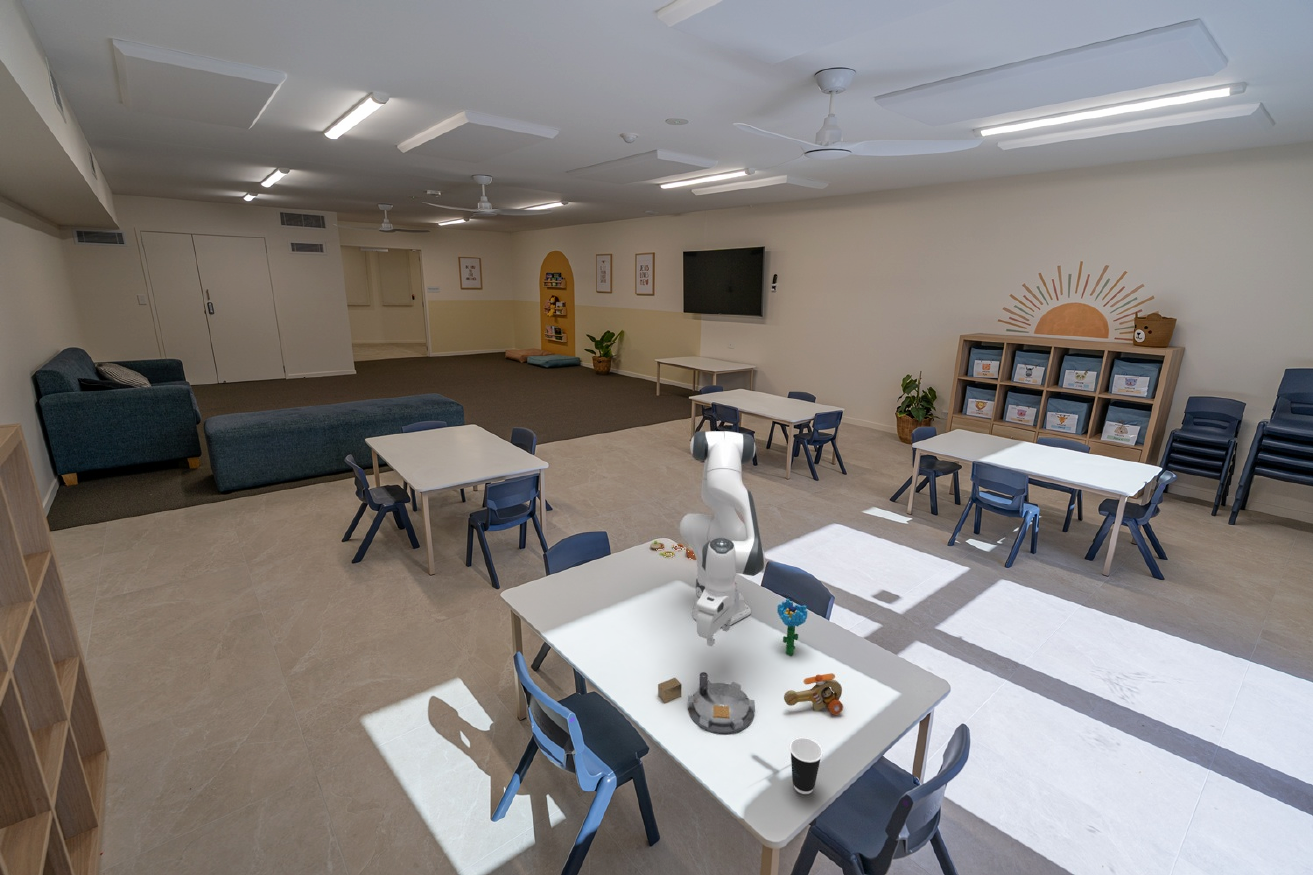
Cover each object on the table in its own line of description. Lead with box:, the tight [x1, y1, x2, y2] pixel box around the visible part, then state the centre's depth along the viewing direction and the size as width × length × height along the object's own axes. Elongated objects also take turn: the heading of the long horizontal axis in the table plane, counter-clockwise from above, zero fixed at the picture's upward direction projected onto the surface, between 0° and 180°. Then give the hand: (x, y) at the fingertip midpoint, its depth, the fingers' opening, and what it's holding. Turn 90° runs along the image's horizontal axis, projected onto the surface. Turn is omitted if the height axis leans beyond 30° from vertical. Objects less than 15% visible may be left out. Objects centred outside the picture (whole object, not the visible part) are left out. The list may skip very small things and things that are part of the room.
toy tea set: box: [649, 540, 697, 561], centre depth 267 cm, size 26×16×10 cm, turn 88°
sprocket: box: [687, 671, 756, 730], centre depth 166 cm, size 18×19×8 cm
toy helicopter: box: [783, 672, 844, 715], centre depth 167 cm, size 7×18×12 cm, turn 102°
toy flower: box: [777, 598, 809, 657], centre depth 193 cm, size 9×9×18 cm
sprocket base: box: [687, 693, 755, 735], centre depth 168 cm, size 19×19×1 cm
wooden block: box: [657, 677, 683, 705], centre depth 172 cm, size 6×4×5 cm, turn 121°
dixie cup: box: [789, 737, 824, 795], centre depth 140 cm, size 8×8×11 cm
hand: (718, 637), depth 171 cm, fingers open, 8 cm apart
